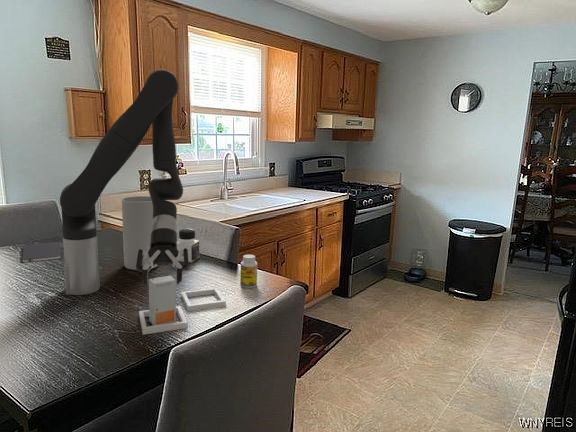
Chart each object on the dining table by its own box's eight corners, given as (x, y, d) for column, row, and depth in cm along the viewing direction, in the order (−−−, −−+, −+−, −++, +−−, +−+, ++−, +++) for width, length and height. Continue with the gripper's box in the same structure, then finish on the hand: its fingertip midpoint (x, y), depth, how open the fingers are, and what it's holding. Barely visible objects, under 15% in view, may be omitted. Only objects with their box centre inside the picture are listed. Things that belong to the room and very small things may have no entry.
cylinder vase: (116, 267, 150) (113, 199, 145) (140, 258, 162) (138, 195, 157) (144, 273, 146) (142, 203, 141) (167, 263, 157) (165, 198, 152)
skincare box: (154, 327, 107) (152, 283, 105) (149, 321, 111) (147, 278, 108) (176, 322, 111) (176, 279, 108) (171, 316, 114) (170, 274, 112)
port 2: (188, 311, 117) (188, 306, 117) (180, 294, 129) (180, 289, 129) (225, 305, 122) (225, 301, 122) (215, 290, 133) (215, 285, 133)
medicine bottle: (191, 262, 159) (191, 232, 157) (174, 260, 161) (174, 230, 158) (199, 257, 166) (199, 228, 164) (182, 255, 167) (182, 226, 165)
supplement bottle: (237, 287, 137) (237, 257, 135) (244, 281, 142) (244, 252, 140) (253, 289, 135) (253, 259, 133) (259, 283, 140) (260, 254, 138)
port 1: (142, 334, 103) (142, 329, 103) (138, 313, 115) (138, 308, 115) (187, 327, 108) (187, 322, 107) (179, 307, 119) (179, 302, 119)
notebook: (61, 259, 158) (58, 245, 176) (61, 255, 158) (58, 241, 176) (22, 264, 152) (23, 248, 169) (22, 260, 151) (23, 245, 169)
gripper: (137, 227, 119) (133, 279, 111) (188, 226, 122) (188, 277, 114) (140, 240, 125) (136, 290, 117) (188, 239, 129) (188, 288, 120)
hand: (162, 283), depth 115 cm, fingers open, 8 cm apart
